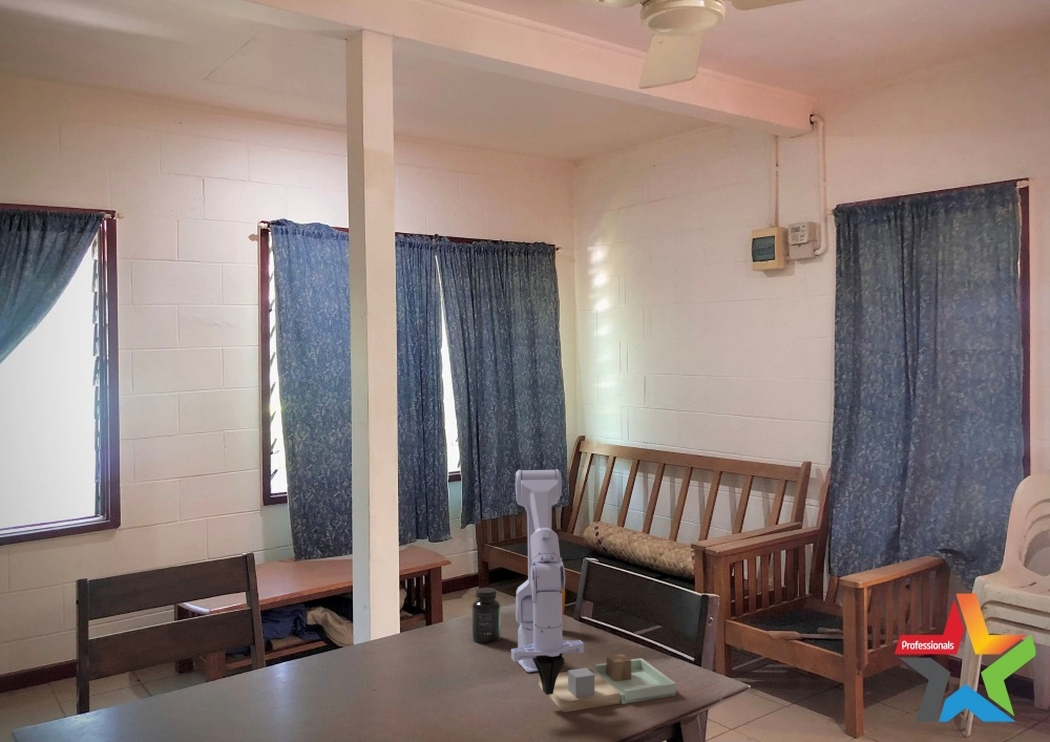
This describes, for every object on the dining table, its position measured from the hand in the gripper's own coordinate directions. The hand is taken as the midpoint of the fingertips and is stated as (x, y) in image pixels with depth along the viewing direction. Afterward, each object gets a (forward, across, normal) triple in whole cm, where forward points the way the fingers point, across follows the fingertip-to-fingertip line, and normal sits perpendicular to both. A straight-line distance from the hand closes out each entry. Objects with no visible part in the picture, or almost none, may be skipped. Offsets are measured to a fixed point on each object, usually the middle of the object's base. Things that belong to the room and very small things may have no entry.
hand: (548, 692), depth 166 cm
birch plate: (+3, +8, +4) cm, 10 cm away
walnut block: (0, +17, +8) cm, 19 cm away
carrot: (+3, +18, +42) cm, 46 cm away
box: (+3, +20, +4) cm, 21 cm away
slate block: (+1, +7, 0) cm, 7 cm away
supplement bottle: (+3, 0, +42) cm, 42 cm away
